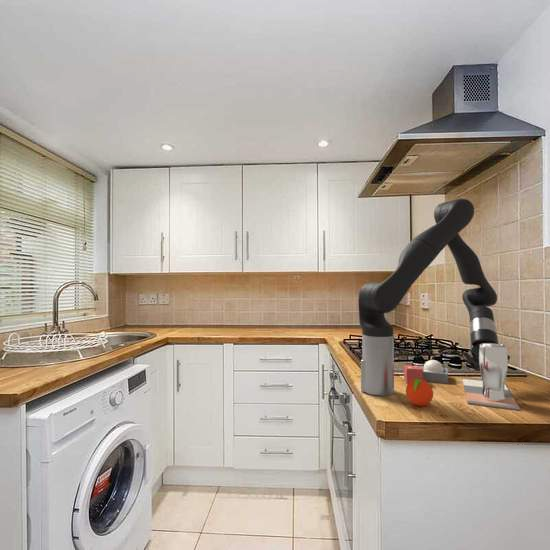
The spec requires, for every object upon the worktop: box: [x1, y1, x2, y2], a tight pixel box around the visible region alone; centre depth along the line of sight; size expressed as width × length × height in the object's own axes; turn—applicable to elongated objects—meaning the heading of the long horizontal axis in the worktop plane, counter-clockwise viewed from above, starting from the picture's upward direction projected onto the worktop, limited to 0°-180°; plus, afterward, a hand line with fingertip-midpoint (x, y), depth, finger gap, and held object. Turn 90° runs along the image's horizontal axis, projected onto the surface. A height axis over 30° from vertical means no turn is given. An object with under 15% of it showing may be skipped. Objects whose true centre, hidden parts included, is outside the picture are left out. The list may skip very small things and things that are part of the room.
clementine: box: [405, 379, 434, 407], centre depth 95 cm, size 8×7×7 cm
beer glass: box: [478, 343, 509, 402], centre depth 100 cm, size 7×7×15 cm
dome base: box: [419, 365, 449, 384], centre depth 122 cm, size 9×9×3 cm
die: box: [403, 364, 423, 385], centre depth 117 cm, size 5×5×5 cm
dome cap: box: [423, 359, 444, 373], centre depth 122 cm, size 6×6×6 cm
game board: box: [462, 377, 521, 411], centre depth 106 cm, size 12×28×1 cm, turn 155°
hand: (488, 382), depth 103 cm, fingers closed
